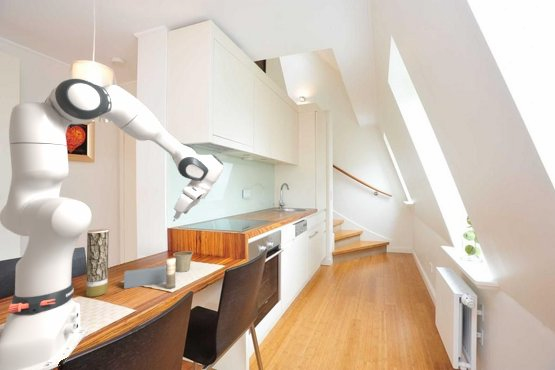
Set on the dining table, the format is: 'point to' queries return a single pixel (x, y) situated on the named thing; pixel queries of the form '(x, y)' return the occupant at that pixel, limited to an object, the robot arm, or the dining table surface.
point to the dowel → (170, 273)
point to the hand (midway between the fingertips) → (180, 215)
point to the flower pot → (183, 260)
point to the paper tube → (97, 262)
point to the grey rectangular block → (144, 277)
